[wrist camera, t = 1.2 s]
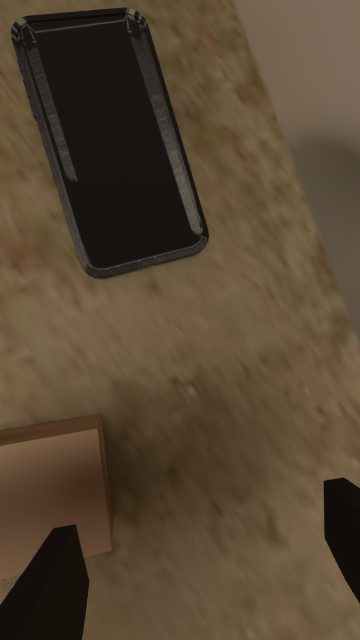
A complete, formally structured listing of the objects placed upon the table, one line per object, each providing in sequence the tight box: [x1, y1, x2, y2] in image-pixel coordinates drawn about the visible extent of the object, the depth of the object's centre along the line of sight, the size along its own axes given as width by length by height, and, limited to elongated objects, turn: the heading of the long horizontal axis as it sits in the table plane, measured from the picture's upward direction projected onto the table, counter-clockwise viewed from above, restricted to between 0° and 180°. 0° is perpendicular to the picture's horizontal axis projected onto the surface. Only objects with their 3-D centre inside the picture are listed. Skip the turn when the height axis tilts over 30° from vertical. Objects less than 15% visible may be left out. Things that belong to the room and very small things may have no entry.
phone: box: [11, 8, 209, 279], centre depth 18 cm, size 8×1×15 cm
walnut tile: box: [0, 414, 113, 580], centre depth 16 cm, size 6×6×3 cm
